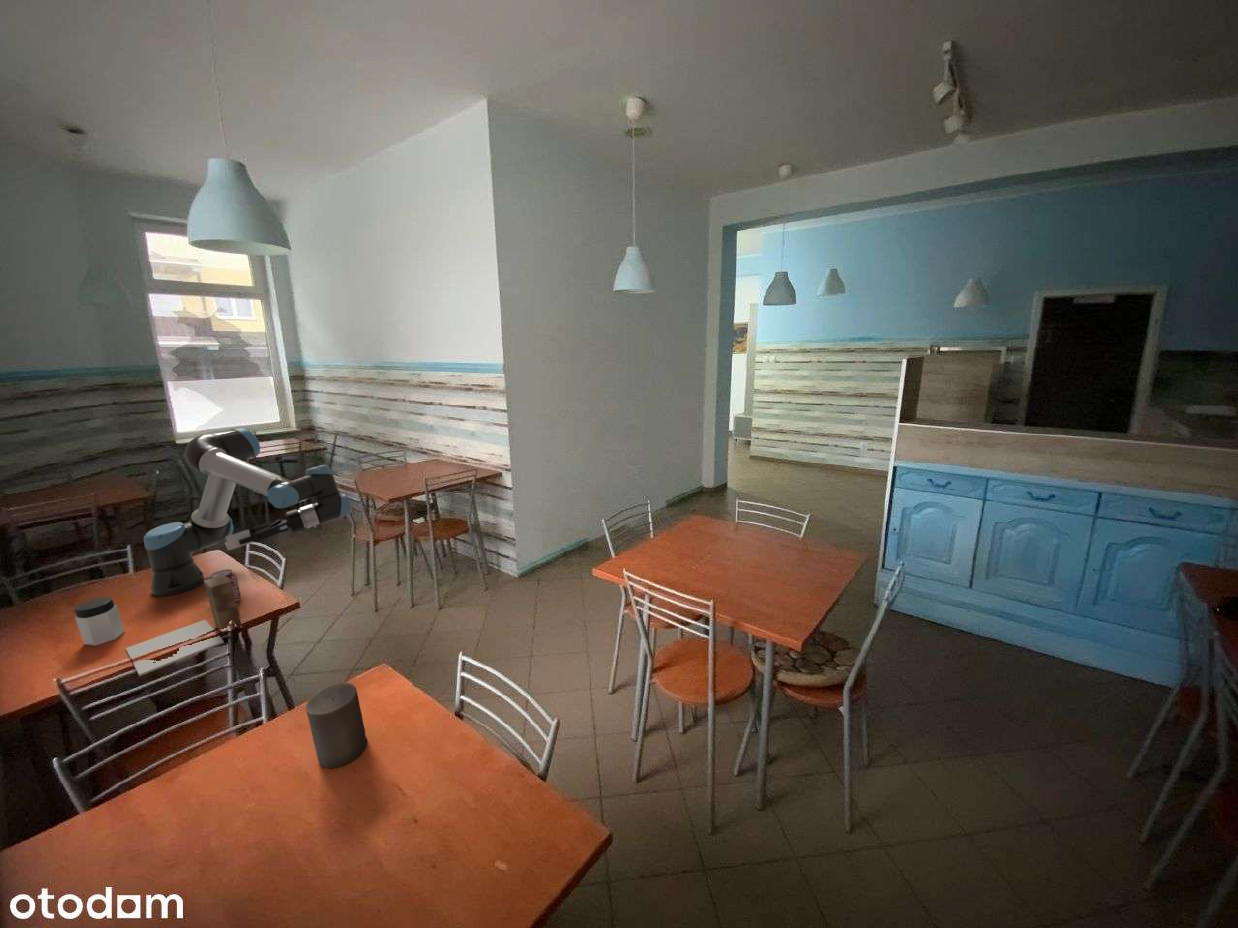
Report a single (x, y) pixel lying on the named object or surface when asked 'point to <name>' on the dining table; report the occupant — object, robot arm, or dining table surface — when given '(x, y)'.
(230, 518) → the robot arm
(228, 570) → the soda can
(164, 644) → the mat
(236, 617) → the walnut block
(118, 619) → the jar
